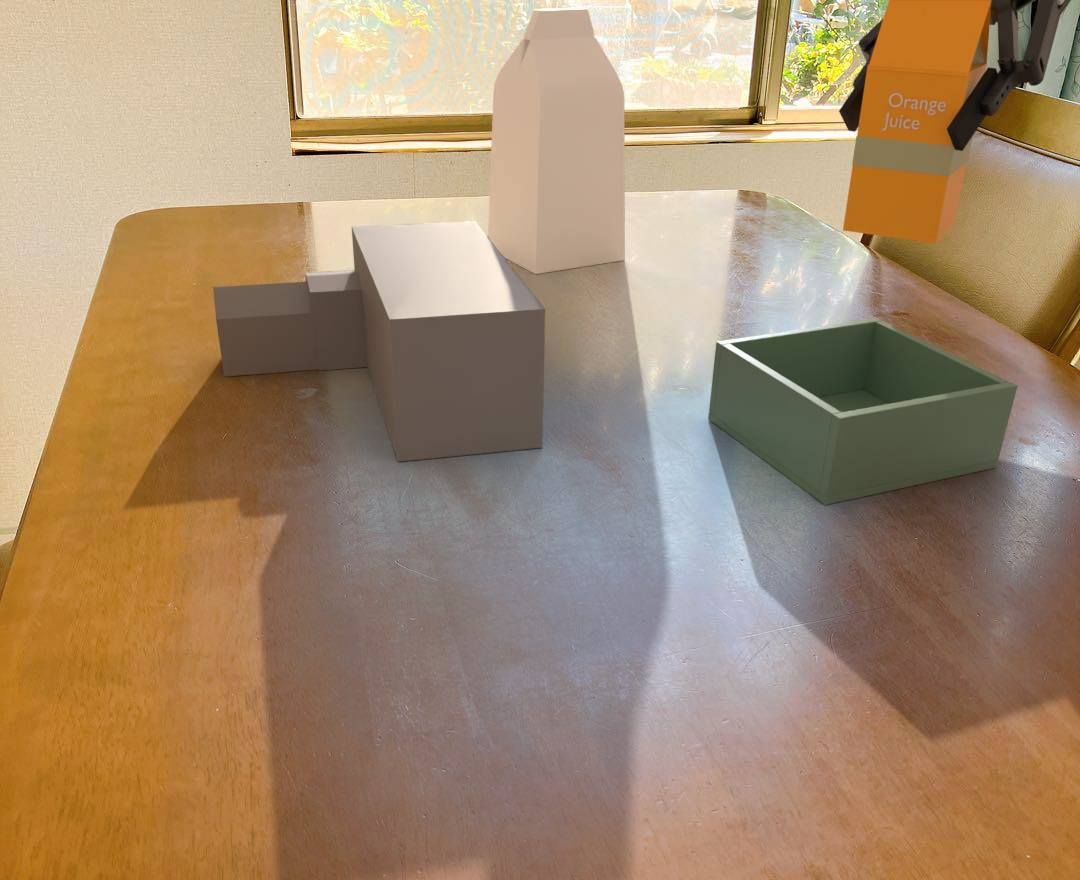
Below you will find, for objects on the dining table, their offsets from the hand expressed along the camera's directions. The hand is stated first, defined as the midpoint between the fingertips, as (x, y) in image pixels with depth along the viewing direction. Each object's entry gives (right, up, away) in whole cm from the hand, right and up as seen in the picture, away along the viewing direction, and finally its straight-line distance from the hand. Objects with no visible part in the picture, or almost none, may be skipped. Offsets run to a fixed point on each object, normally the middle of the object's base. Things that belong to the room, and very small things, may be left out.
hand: (898, 130), depth 97 cm
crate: (-9, -29, -13) cm, 33 cm away
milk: (-31, -3, +30) cm, 43 cm away
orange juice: (+2, -7, +6) cm, 10 cm away
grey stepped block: (-47, -25, -7) cm, 54 cm away
